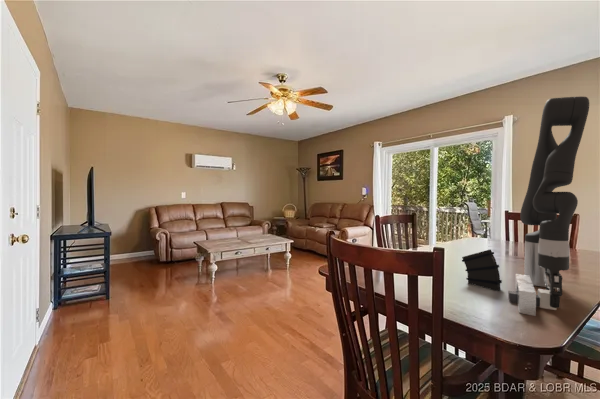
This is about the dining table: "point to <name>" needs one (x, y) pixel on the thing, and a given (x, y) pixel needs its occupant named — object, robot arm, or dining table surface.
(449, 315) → the dining table surface
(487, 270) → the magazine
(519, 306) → the housing
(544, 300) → the plug
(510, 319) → the dining table surface
